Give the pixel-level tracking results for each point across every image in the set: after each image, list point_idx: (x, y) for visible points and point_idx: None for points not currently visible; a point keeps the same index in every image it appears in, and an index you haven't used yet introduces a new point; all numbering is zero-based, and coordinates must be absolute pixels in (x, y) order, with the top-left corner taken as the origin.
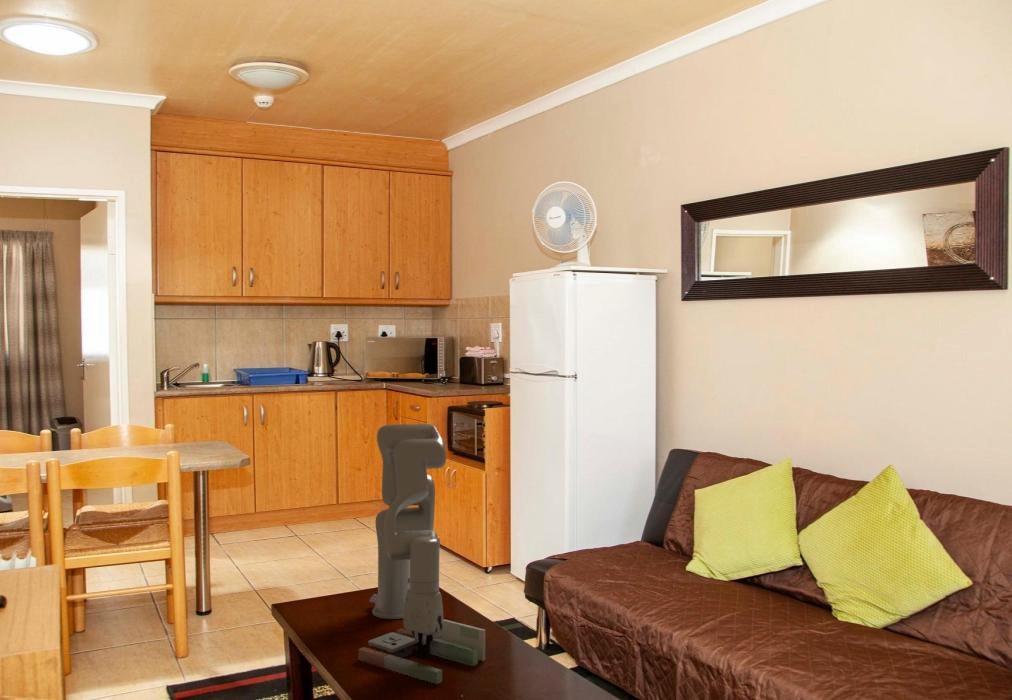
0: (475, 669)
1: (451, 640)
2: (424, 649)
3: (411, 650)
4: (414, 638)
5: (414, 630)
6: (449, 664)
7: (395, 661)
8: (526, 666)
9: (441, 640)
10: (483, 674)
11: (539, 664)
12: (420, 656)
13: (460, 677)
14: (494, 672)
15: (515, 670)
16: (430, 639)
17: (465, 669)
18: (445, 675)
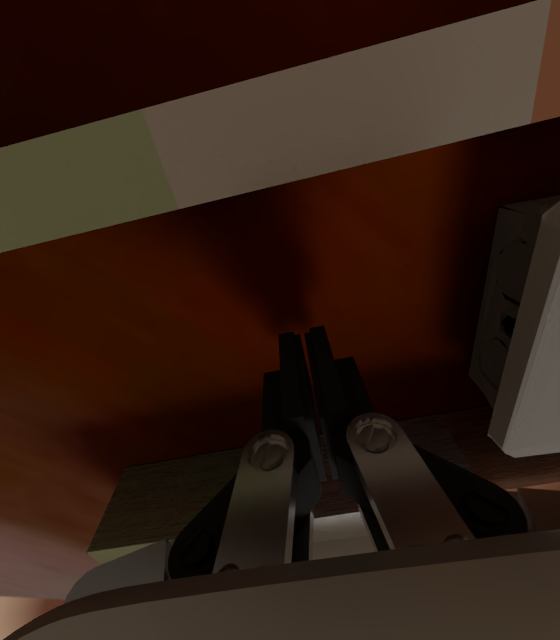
0: (87, 459)
1: (332, 545)
2: (278, 400)
3: (480, 382)
4: (538, 460)
5: (404, 581)
6: (209, 420)
7: (346, 58)
8: (38, 560)
9: (342, 527)
10: (11, 454)
11: (40, 581)
12: (292, 341)
13: (8, 371)
14: (19, 487)
15: (12, 532)
16: (194, 519)
17: (108, 435)
18: (72, 332)
